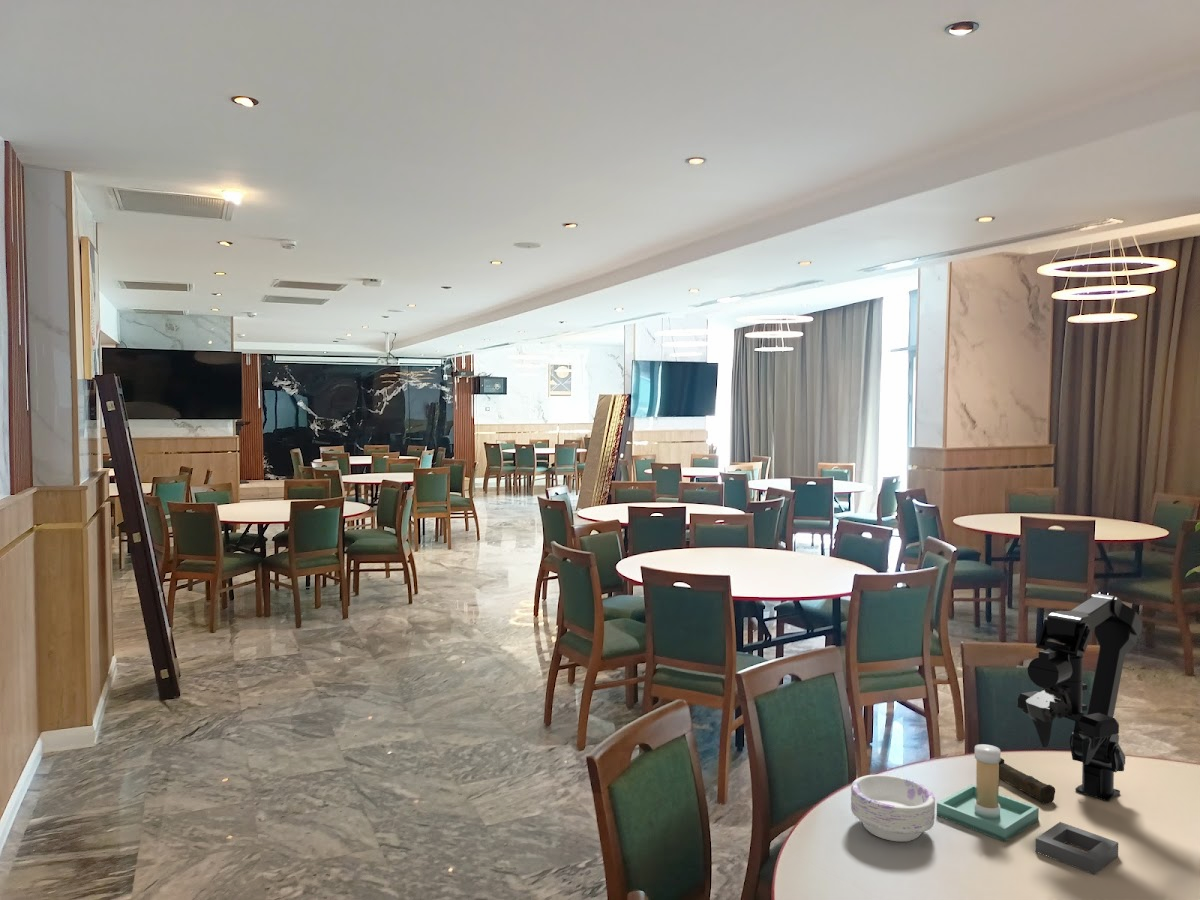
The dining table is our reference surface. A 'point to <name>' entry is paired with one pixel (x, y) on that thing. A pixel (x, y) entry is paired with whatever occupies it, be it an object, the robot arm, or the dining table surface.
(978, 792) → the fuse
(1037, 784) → the dark brown rod
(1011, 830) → the parts tray
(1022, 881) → the dining table surface
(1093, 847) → the frame
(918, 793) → the paper bowls
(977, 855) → the dining table surface
